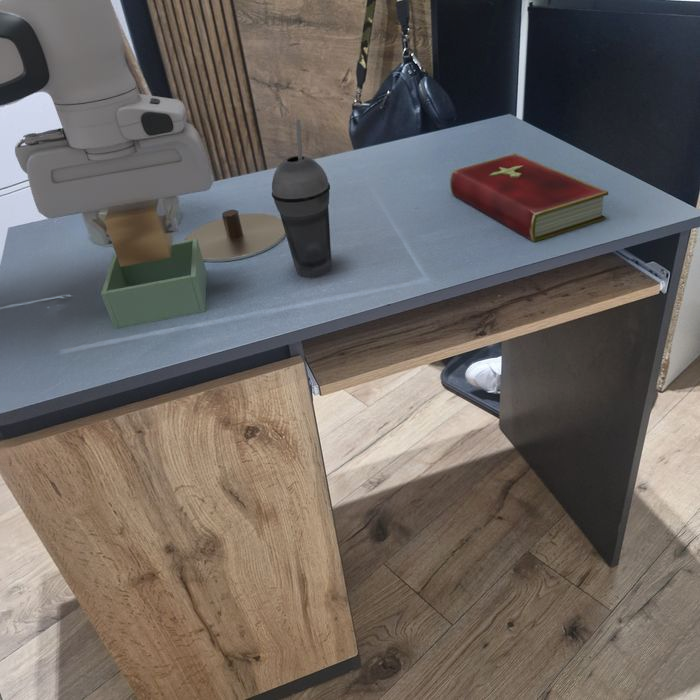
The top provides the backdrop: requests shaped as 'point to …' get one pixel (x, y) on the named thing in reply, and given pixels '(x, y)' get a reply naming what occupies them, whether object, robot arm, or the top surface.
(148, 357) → the top surface
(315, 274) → the beverage cup
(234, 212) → the pan lid
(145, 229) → the block
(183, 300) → the bin
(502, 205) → the hardcover book
